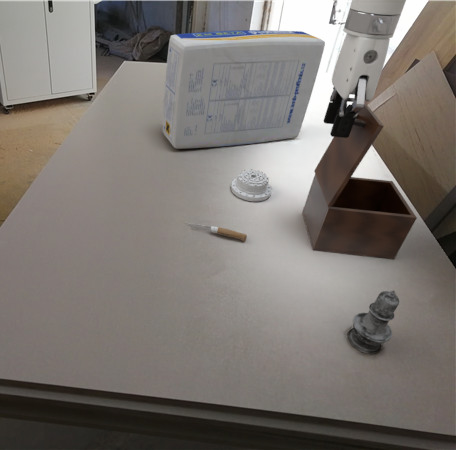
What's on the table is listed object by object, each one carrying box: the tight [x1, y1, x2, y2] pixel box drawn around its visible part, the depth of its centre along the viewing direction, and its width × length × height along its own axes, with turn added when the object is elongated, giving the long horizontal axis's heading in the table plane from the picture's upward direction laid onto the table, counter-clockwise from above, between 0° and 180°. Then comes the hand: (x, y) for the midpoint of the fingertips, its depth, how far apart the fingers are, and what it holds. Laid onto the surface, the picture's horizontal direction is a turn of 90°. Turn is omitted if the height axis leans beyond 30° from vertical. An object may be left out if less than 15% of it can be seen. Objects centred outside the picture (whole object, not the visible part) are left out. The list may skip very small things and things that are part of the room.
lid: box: [313, 101, 385, 207], centre depth 78 cm, size 17×14×5 cm
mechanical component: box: [230, 168, 273, 202], centre depth 101 cm, size 10×4×10 cm
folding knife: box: [185, 222, 248, 243], centre depth 87 cm, size 14×2×2 cm, turn 71°
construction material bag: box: [162, 29, 326, 150], centre depth 117 cm, size 43×12×30 cm, turn 108°
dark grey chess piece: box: [347, 290, 400, 355], centre depth 64 cm, size 6×6×12 cm
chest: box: [301, 173, 418, 260], centre depth 86 cm, size 17×14×11 cm
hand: (335, 128), depth 76 cm, fingers closed on lid, 5 cm apart
